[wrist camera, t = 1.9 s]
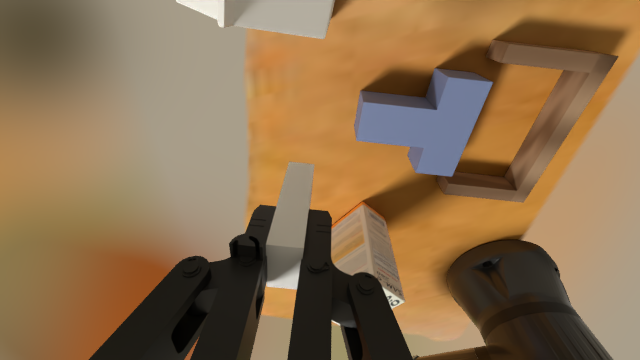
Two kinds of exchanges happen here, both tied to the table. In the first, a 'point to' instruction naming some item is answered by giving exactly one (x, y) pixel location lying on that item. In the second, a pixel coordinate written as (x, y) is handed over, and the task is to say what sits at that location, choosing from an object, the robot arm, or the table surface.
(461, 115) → the slate blue t block
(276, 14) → the milk carton
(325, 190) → the table surface
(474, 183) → the walnut dock
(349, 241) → the supplement box
